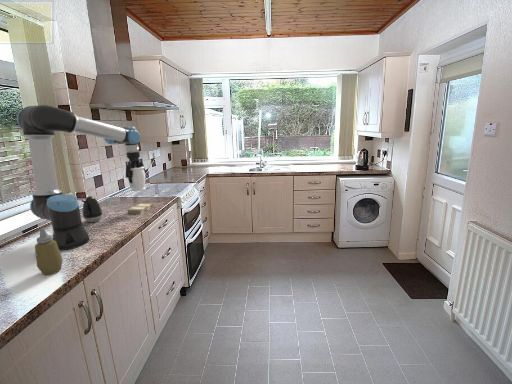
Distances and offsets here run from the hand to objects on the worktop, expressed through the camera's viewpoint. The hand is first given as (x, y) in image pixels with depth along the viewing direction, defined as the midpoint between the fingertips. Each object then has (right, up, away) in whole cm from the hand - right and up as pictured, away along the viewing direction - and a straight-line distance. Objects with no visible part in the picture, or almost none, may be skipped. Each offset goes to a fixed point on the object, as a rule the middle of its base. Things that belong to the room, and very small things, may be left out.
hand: (137, 185), depth 178 cm
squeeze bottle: (-3, -35, -71) cm, 80 cm away
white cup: (0, -3, +1) cm, 3 cm away
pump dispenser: (-20, -22, -14) cm, 33 cm away
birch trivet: (0, -16, +4) cm, 17 cm away
